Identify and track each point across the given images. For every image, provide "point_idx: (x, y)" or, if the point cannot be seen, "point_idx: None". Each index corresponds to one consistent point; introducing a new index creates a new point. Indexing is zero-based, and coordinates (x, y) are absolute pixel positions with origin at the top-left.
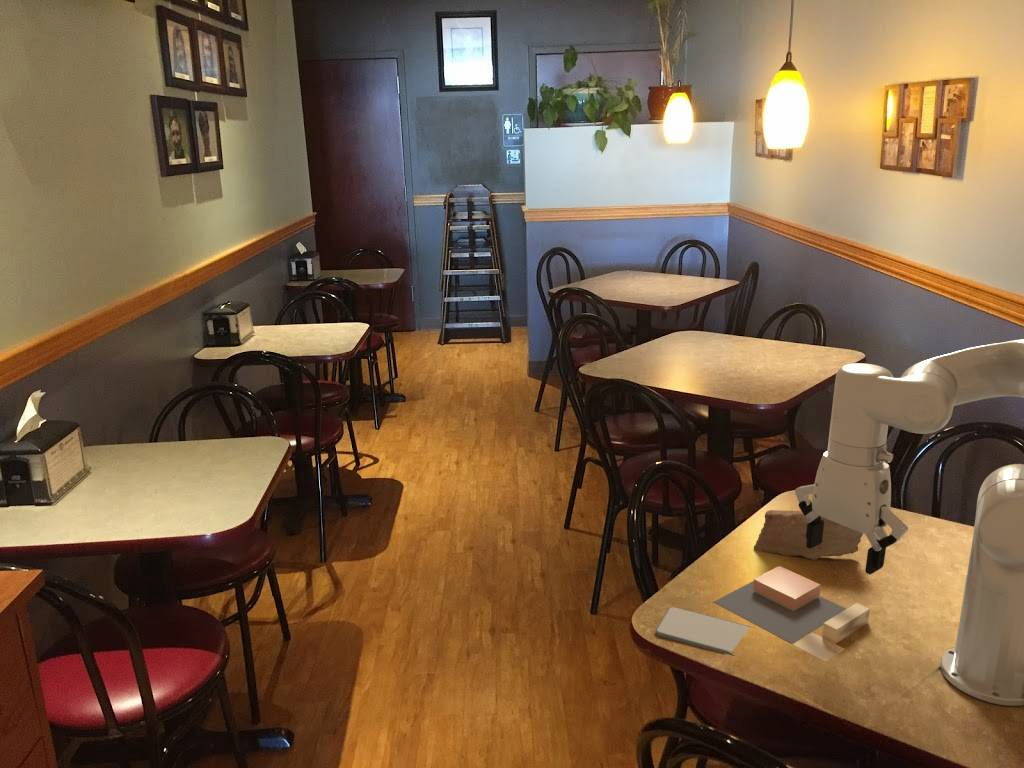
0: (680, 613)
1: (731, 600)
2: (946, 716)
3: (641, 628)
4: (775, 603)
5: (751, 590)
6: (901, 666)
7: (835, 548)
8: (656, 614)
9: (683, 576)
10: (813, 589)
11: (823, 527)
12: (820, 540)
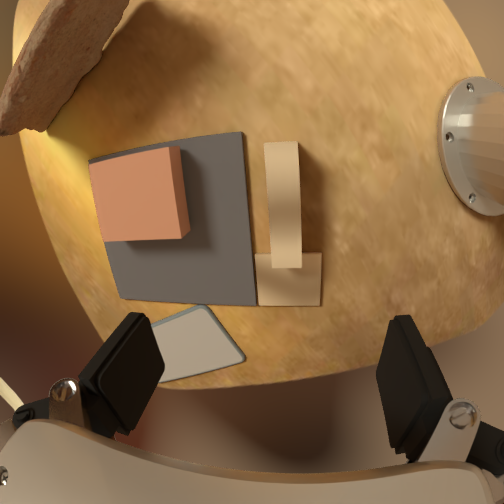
0: None
1: (125, 277)
2: (473, 273)
3: None
4: None
5: None
6: (404, 216)
7: (105, 24)
8: None
9: (63, 269)
10: (172, 173)
11: (113, 359)
12: (144, 333)
